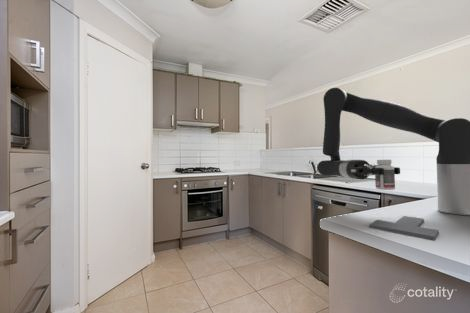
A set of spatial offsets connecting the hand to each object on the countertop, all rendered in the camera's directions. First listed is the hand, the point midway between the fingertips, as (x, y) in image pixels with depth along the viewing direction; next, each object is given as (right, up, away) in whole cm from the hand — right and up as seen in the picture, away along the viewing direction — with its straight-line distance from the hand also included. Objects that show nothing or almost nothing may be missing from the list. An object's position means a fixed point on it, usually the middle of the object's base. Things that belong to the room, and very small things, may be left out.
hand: (391, 171), depth 71 cm
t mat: (+1, -15, -6) cm, 17 cm away
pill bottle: (0, -6, +2) cm, 7 cm away
